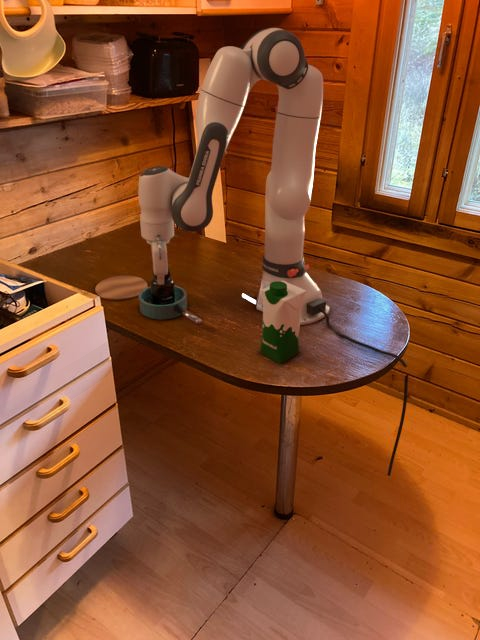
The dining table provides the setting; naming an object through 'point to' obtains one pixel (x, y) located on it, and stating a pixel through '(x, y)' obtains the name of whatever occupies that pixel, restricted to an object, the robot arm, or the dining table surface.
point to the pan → (161, 310)
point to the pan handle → (188, 315)
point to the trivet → (120, 287)
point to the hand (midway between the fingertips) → (160, 276)
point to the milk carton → (281, 320)
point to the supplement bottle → (162, 290)
